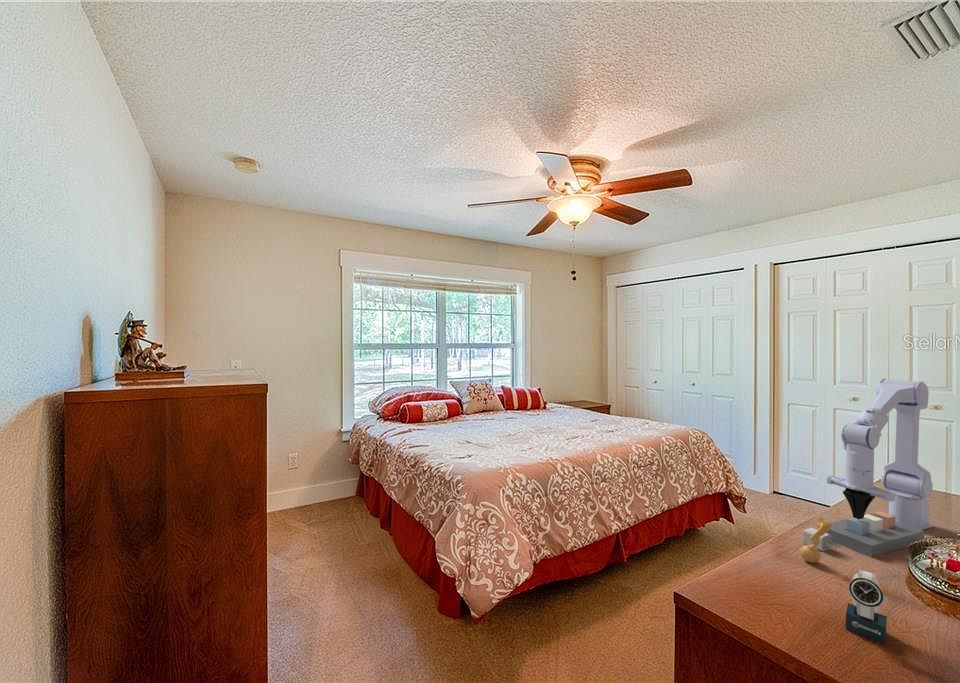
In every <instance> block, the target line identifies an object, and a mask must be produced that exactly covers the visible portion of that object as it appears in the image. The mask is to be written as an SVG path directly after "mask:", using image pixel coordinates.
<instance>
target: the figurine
mask: <svg viewBox="0 0 960 683" xmlns="http://www.w3.org/2000/svg"><path fill="white" fill-rule="evenodd" d="M816 520H817V522H818V523H817V530H818V531H817V532H816V533H814V534H813V535H812V536H810V538H809V539H811V540H812V542H813V543H814V545H812V544H811V545H806V544H804V545H803V546H802V547H801V548H800V549H799V553H800V556H801V557H802V559H803V560H804V561H805V562H808V563H812V564H814V563H815V564H817V562H819V561H820V560H821V553H820V550H818V549H816V548H815V547H816V546H817V545H818V544H819V540H818V539H817V538H819V537H820V536H822V535H824V534H825V533H826V532H827V531H828V530H829V529H830V528H831V524H830V523H831V522H829V521H827V520H825V519H824V518H822V517H821V516H817V518H816ZM814 539H815V540H814Z"/></svg>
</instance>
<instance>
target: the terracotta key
mask: <svg viewBox="0 0 960 683" xmlns="http://www.w3.org/2000/svg"><path fill="white" fill-rule="evenodd" d="M872 514H873V516H875V517H878V518H881V519H883V527H884V528H887V529H892V528H895V519H896V516H894V515H891V514H889V512H888V513H887V512H884V511H881V510H879V511H876V512H873V513H872Z"/></svg>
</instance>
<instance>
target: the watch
mask: <svg viewBox="0 0 960 683" xmlns="http://www.w3.org/2000/svg"><path fill="white" fill-rule="evenodd" d="M876 575H877V574H876V573H872V572H869V571H865V570H864V569H863V570H862V569H859V571H858V573H855V574H854V576H853V578H852V579H851V580H850V582H849V583H848V591H849V594H850V596H851V600H852V602H853V604H852V603H847V607H846V612H845V629H846V630H848V631H850V632H853V633H855V634H858V635H861V636H863V637H865V638H868V639H871V640H873V641H876V642H879V643H880V644H881V643H882V644H884V645H886V644H887V643H886V642H887V622H888V620H887V619H888V618H887V616H886V615H884V614H881V613H878V611H879V610H880V607H882V605H883V604H884V602H888V596H885V595H884V592H883V590H882V587H881V585H880V582H879V580H878V579H877V578H876Z"/></svg>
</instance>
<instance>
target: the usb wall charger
mask: <svg viewBox="0 0 960 683" xmlns="http://www.w3.org/2000/svg"><path fill="white" fill-rule="evenodd" d="M817 531H818V529H816V528H815V527H808V528H806V529H804V530H803V544H804V545H811V544H812V545H814V543H813V542H812V540H811V539H809V538H810V536H812V535H813V534H814V533H816V532H817ZM817 539H818V540H819V544H818V545H817V546H816V547H815V548H816V549H817V550H818V551H821V552H825V551H829V550H831V549H833V550H836V549H837V548H839V549H841V545H840V544H838V543H835V542H833V541H831V535H830V534H827V533H825V534H824V535H822V536H820V537H819V538H817ZM814 540H815V539H814Z"/></svg>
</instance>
